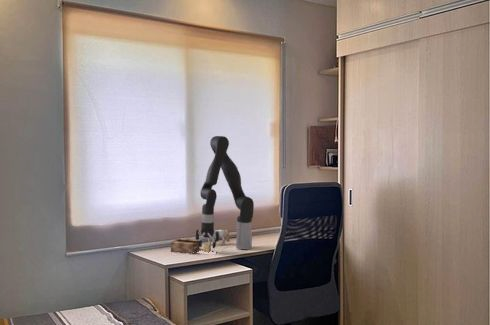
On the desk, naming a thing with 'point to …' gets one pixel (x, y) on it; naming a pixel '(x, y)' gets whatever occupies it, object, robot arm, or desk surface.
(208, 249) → the slate lid
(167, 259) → the desk surface
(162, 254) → the desk surface
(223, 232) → the unicorn figurine
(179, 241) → the walnut box
